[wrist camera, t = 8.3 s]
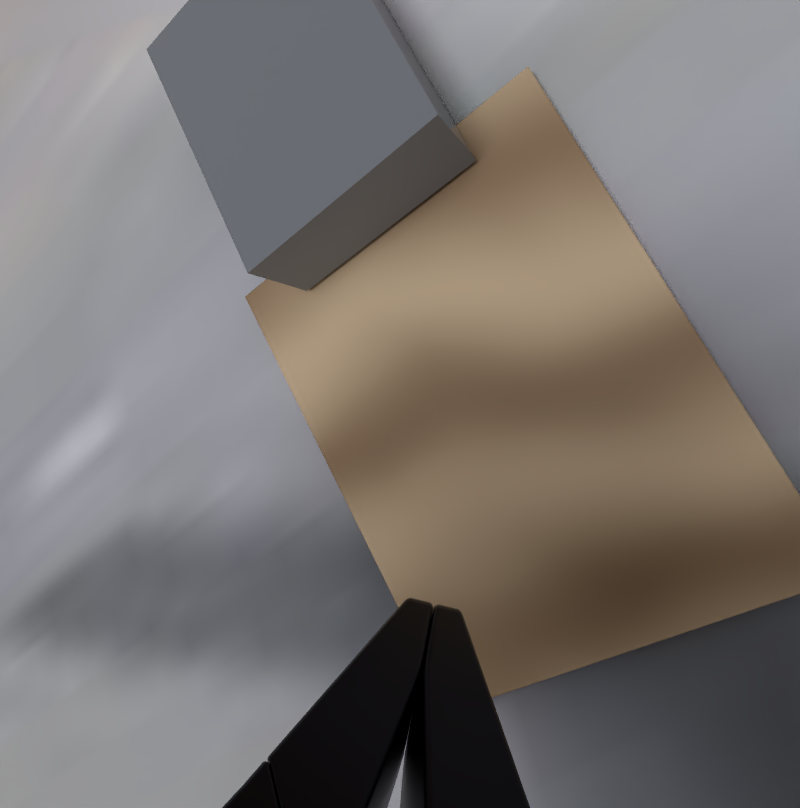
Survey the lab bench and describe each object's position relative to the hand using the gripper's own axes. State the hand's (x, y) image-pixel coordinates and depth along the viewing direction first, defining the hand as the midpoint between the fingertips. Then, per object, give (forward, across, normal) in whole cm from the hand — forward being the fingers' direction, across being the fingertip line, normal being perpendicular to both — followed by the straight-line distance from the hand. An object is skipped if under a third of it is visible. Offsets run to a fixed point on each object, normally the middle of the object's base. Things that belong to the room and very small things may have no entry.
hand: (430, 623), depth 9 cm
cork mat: (+10, -1, +1) cm, 10 cm away
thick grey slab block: (+11, +4, -4) cm, 12 cm away
